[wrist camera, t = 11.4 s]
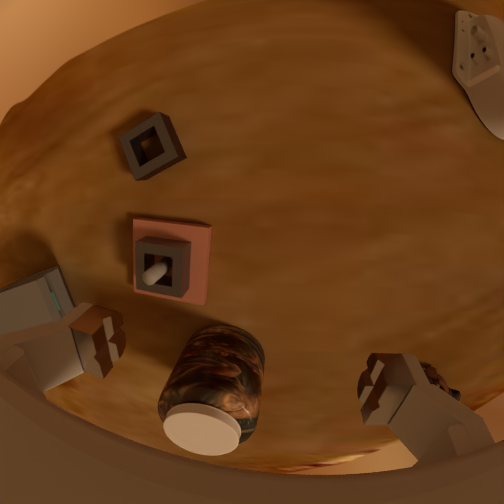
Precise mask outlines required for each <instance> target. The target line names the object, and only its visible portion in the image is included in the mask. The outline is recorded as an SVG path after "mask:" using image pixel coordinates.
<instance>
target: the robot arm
mask: <svg viewBox="0 0 504 504" xmlns="http://www.w3.org/2000/svg"><path fill="white" fill-rule="evenodd" d="M460 67H461V68H460ZM452 73H453V75H454V77H455V79H456V80H457V81H458V83H459V84H460V85H461V86H462V87H463V89H464V90H465V91H466V93H467V95H468V97H469V99H470V101H471V103H472V105H473V107H474V109H475V111H476V113H477V115H478V116H479V118H480V119H481V121H482V122H483V124H484V125H485V126H486V127H487V128H488V129H489V131H490V132H492V133H493V134H494V135H495V136H497V137H498V138H500V139H502V140H504V22H503V21H501V20H500V19H498V18H496V17H494V16H491V15H480V16H477V15H475V14H473V13H471V12H468V11H463V10H459V11H457V12H456V13H455V41H454V56H453V66H452ZM122 324H123V319H122V315H121V314H120V313H119V312H117V311H114V310H111V309H108V308H104V307H101V306H98V305H95V304H91V303H88V302H82V303H80V304H79V305H78V306H76V307H75V308H74V309H73V310H71V311H70V312H69V313H68V314H66V315H65V316H64V317H63V318H62V319H60V320H59V321H58V322H54V321H53V322H49V323H45V324H41V325H37V326H33V327H29V328H25V329H21V330H17V331H13V332H9V333H5V334H1V335H0V504H504V440H503V441H500V442H498V443H495V442H494V440H493V438H492V436H491V434H490V432H489V430H488V428H487V426H486V424H485V422H484V420H483V418H482V417H480V416H479V415H478V414H476V413H475V412H473V411H472V410H471V409H469V408H468V407H466V406H465V405H463V404H462V403H460V402H459V401H458V400H456V399H455V398H453V397H452V396H450V395H449V394H448V393H446V392H445V391H443V390H442V389H440V388H439V387H437V386H436V385H435V384H430V382H429V380H428V378H427V376H426V375H425V373H424V371H423V369H422V367H421V365H420V363H419V361H418V359H417V357H416V356H415V355H414V354H413V353H399V354H393V353H371V355H370V356H369V358H368V360H367V362H366V363H367V366H368V369H366V370H365V371H364V372H362V374H361V376H360V379H359V382H358V388H357V393H358V399H359V401H361V402H362V403H363V404H364V405H363V407H362V409H361V413H362V417H363V422H364V425H388V427H389V428H390V429H391V430H392V432H393V433H394V434H395V435H396V436H397V437H398V438H399V439H400V441H401V442H402V443H403V444H404V445H405V446H406V447H407V448H408V449H409V451H410V452H411V453H412V454H413V455H414V456H415V457H416V458H417V459H418V462H417V463H416V464H415V465H413V466H412V467H410V468H403V469H397V470H390V471H382V472H373V473H361V474H346V475H298V474H282V473H270V472H261V471H253V470H246V469H239V468H233V467H227V466H222V465H216V464H212V463H207V462H202V461H198V460H194V459H190V458H186V457H182V456H179V455H175V454H171V453H168V452H165V451H161V450H158V449H155V448H152V447H149V446H146V445H143V444H140V443H138V442H135V441H132V440H130V439H127V438H124V437H122V436H119V435H117V434H115V433H112V432H110V431H107V430H105V429H103V428H101V427H98V426H96V425H94V424H92V423H90V422H88V421H86V420H84V419H82V418H80V417H78V416H76V415H74V414H72V413H70V412H68V411H66V410H65V409H63V408H61V407H59V406H57V405H56V404H54V403H52V402H50V401H49V400H47V399H46V397H45V395H44V393H43V392H45V391H47V390H49V389H51V388H53V387H56V386H58V385H60V384H62V383H64V382H66V381H68V380H70V379H72V378H74V377H76V376H78V375H80V374H82V373H84V372H87V373H89V374H92V375H94V376H97V377H100V378H103V379H104V378H105V377H106V375H107V374H108V373H109V371H110V370H111V369H112V368H113V364H112V362H113V361H115V360H118V359H119V358H120V357H121V356H122V354H123V352H124V349H125V345H126V338H125V333H124V332H123V331H122V329H121V328H120V327H121V326H122Z"/></svg>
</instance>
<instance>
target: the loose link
mask: <svg viewBox="0 0 504 504" xmlns="http://www.w3.org/2000/svg"><path fill="white" fill-rule="evenodd" d="M156 133H157V134H158V136H159V139H160V141H161V144H162V146H163V148H164V151H165V153H163V154H161V155H159V156H158V157H156V158H154V159H152V160H151V161H149V162H148V159H147V157H146V155H145V152H144V150H143V147H142V145H141V142H143V141H145V140H146V139H148V138H150V137H151V136H153V135H155V134H156ZM119 140H120V143H121V146H122V148H123V151H124V153H125V156H126V159H127V161H128V164H129V166H130V169H131V171H132V174H133V176H134V179H135V181H139V180H147V179H149V178H151V177H152V176H154V175H156V174H158V173H160V172H161V171H163V170H165V169H167V168H169V167H171V166H172V165H174V164H176V163H178V162H180V161H182V160H184V159H186V158H187V157H186V155H185V152H184V150H183V148H182V146H181V143H180V141H179V139H178V136H177V134H176V132H175V129H174V127H173V124H172V122H171V120H170V117H169V116H167V115H165V114H163V113H161V112H158V113H157V114H155V115H153V116H152V117H150V118H148V119H147V120H145V121H143V122H142V123H140V124H139V125H137V126H136V127H134V128H132V129H131V130H129V131H128V132H126V133H125V134H123V135H122V136H120V137H119Z"/></svg>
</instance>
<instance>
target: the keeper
mask: <svg viewBox="0 0 504 504" xmlns="http://www.w3.org/2000/svg"><path fill="white" fill-rule="evenodd" d="M211 230H212V226H210V225H202V224H194V223H185V222H177V221H168V220H160V219H151V218H142V217H138V218H135V219H133V277H134V292H137V293H141V294H146V295H151V296H156V297H161V298H166V299H171V300H176V301H181V302H186V303H192V304H197V305H203V306H204V304H205V303H206V301H207V285H208V270H209V256H210V242H211ZM145 236H151V237H159V238H166V239H174V240H181V241H188V242H191V258H190V282H189V289H188V291H187V292H186V293H185V294H184V296H183V297H182V298H178V297H173V296H167V295H162V294H157V293H152V292H147V291H143V290H138V289H136V265H135V241H137V240H139V239H141V238H143V237H145ZM172 263H173V257H167V256H160V255H155V265H153V266H152V267H151V268H149V269H148V270H147V271H145V272H144V273H143V275H142V278H143V281H144V282H145V283H146V284H147V285H153V284H154V283H155V282H156V281H157V280H159V279H160V278H161V277H162V276H163V275H166V276H172Z"/></svg>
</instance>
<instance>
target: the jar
mask: <svg viewBox="0 0 504 504" xmlns="http://www.w3.org/2000/svg"><path fill="white" fill-rule="evenodd" d="M264 363H265V357H264V352H263V349H262V347H261V345H260V343H259V342H258V341H257V340H256V339H255V338H254V337H253V336H252V335H251V334H249V333H248V332H246V331H244V330H242V329H240V328H237V327H233V326H228V325H214V326H209V327H206V328H203V329H201V330H199V331H198V332H196V333H195V334H194V335H193V336H192V337H191V338H190V340H189V341H188V343H187V345H186V346H185V348H184V350H183V352H182V354H181V355H180V357H179V359H178V361H177V363H176V365H175V367H174V369H173V371H172V373H171V374H170V376H169V378H168V380H167V382H166V384H165V387H164V389H163V391H162V393H161V396H160V398H159V402H158V413H159V416H160V418H161V420H162V422H163V423H164V424H163V428H164V431H165V433H166V435H167V436H168V438H169V439H170V440H171V441H173V442H174V443H175V444H177V445H178V446H180V447H182V448H183V449H186V450H188V451H191V452H194V453H197V454H202V455H222V454H226V453H229V452H231V451H233V450H234V449H235V448H236V447H237V446H238V444H240V443H242V442H244V441H245V440H247V439H248V438H249V437H250V436H251V435H252V434H253V432H254V430H255V428H256V425H257V420H258V415H259V409H260V401H261V393H262V384H263V375H264Z"/></svg>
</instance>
